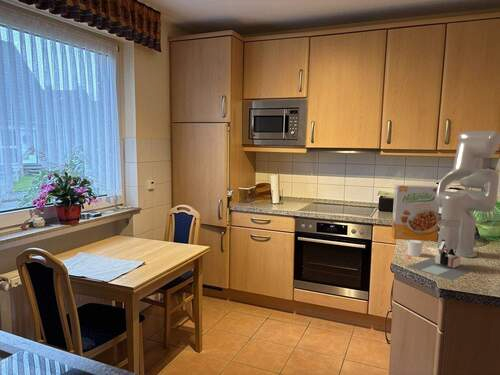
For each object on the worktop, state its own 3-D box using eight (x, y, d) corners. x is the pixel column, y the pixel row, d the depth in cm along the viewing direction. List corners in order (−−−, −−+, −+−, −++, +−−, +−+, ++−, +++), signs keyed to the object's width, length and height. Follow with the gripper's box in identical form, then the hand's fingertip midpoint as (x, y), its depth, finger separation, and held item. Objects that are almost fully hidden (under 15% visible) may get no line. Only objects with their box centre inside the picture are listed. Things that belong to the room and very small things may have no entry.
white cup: (403, 253, 182) (404, 239, 181) (417, 253, 183) (418, 239, 182) (410, 257, 176) (411, 243, 175) (424, 257, 176) (425, 243, 175)
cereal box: (394, 239, 209) (397, 186, 206) (391, 236, 215) (394, 184, 212) (436, 241, 206) (440, 187, 203) (432, 238, 212) (436, 185, 209)
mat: (431, 258, 174) (431, 257, 174) (475, 270, 159) (475, 269, 159) (406, 267, 162) (406, 266, 162) (451, 281, 147) (451, 279, 146)
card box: (435, 262, 166) (435, 254, 165) (441, 260, 169) (441, 252, 168) (453, 267, 159) (454, 259, 159) (459, 265, 162) (460, 257, 162)
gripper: (451, 218, 169) (448, 257, 172) (431, 224, 159) (428, 264, 162) (468, 221, 163) (465, 261, 166) (449, 227, 153) (446, 269, 156)
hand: (447, 262), depth 164 cm, fingers closed on card box, 5 cm apart
